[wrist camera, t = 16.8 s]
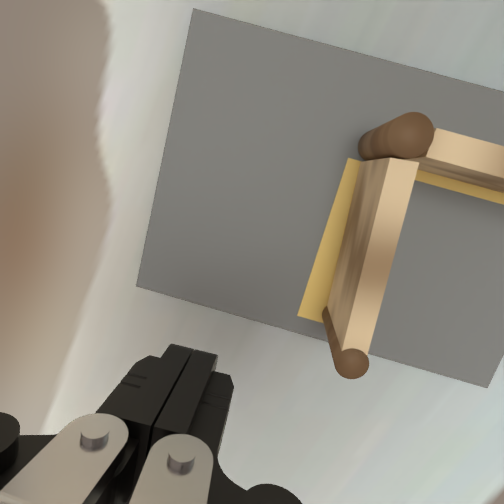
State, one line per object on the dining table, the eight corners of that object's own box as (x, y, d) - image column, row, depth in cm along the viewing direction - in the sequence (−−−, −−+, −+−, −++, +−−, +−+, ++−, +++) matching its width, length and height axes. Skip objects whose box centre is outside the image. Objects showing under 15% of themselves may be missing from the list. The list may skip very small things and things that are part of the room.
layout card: (606, 123, 20) (617, 121, 20) (482, 383, 24) (488, 389, 23) (195, 12, 21) (192, 7, 20) (139, 283, 25) (135, 286, 24)
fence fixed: (574, 184, 21) (700, 189, 14) (559, 214, 21) (676, 232, 15) (363, 126, 21) (397, 106, 15) (353, 157, 21) (382, 151, 15)
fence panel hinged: (357, 161, 21) (385, 156, 15) (385, 165, 21) (424, 163, 15) (319, 324, 23) (331, 375, 17) (344, 329, 23) (364, 381, 17)
